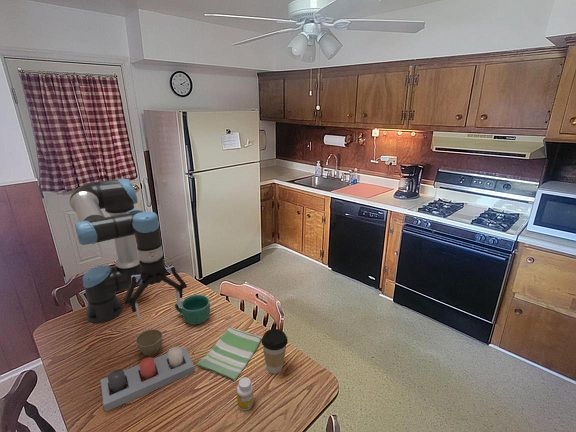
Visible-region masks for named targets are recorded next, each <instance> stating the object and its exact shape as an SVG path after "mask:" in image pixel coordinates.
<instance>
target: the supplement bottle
mask: <svg viewBox="0 0 576 432" xmlns="http://www.w3.org/2000/svg"><path fill="white" fill-rule="evenodd" d="M236 397H237V399H236V400H237V401H236V402H237V407H238V408H239V409H240V410H242V411H247V410H250V409H251V408H252V407H253V405H254V386H253V384H252V382H251V378H248V377H242V378H240V379H239V381H238V385H237V387H236Z"/></svg>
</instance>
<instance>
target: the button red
mask: <svg viewBox="0 0 576 432" xmlns="http://www.w3.org/2000/svg"><path fill="white" fill-rule="evenodd" d="M138 365H139V366H140V372H141V376H140V378H141V381H145V380H148V379H150V378H152V377H155V376H157V370H156V368H155V362H154V358H153V357H145V358H143V359H142V360H141V361H140V362H139V364H138Z"/></svg>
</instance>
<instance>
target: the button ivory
mask: <svg viewBox="0 0 576 432" xmlns="http://www.w3.org/2000/svg"><path fill="white" fill-rule="evenodd" d="M181 348H182V347H180V346H174V347H172V348H170V349H169V350H168V352H167V353H168V357H169V368H170V369H174V368H176V367H178V366H181V365H183V364H184V361H183V355H182V349H181Z"/></svg>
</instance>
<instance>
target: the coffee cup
mask: <svg viewBox="0 0 576 432" xmlns="http://www.w3.org/2000/svg"><path fill="white" fill-rule="evenodd" d="M261 337H262V338H261V345H262V351H263V355H264V356H263V357H264V363H265V365H266V367H265V368H266V370H267V372H268V373H269V374H271V375H272V374H273V375H276V374H279V373H280V372H282V370H283V366H284V362H285V355H286V350H287V346H288V345H287V344H288V337H287V335H286V333H285V332H284V331H283V330H281V329H280V328H279V329H278V328H271V329H268V330H267V331H265V332H264V334H263V335H262V336H261Z"/></svg>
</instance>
